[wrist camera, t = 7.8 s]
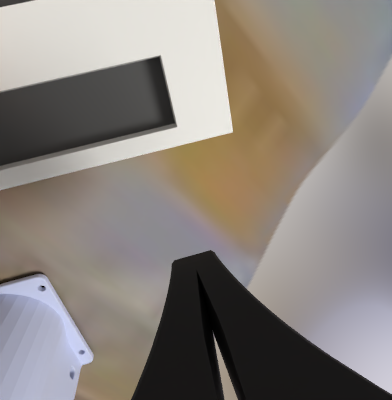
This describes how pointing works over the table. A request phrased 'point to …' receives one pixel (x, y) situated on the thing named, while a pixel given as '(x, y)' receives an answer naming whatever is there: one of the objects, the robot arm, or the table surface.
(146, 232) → the table surface
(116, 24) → the pit board
